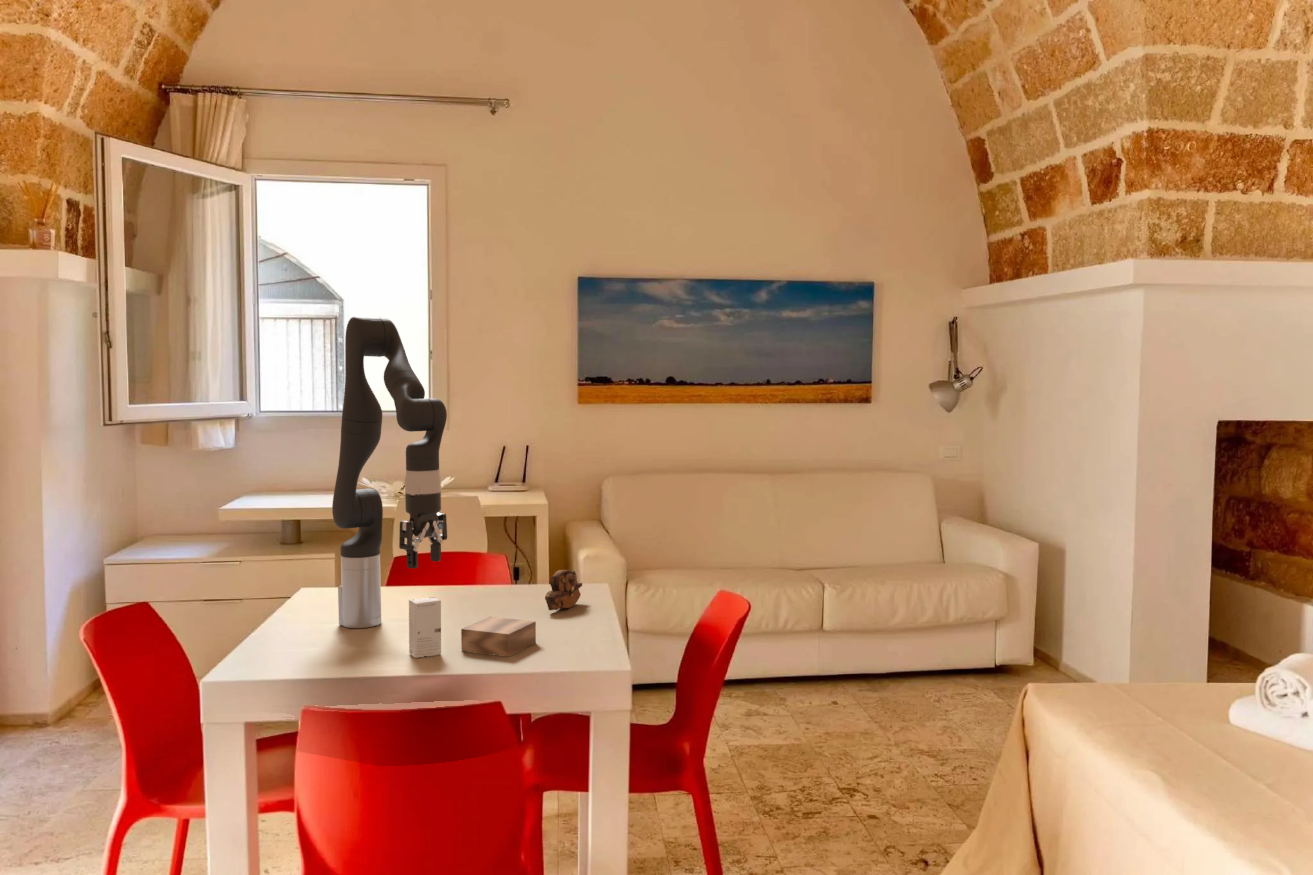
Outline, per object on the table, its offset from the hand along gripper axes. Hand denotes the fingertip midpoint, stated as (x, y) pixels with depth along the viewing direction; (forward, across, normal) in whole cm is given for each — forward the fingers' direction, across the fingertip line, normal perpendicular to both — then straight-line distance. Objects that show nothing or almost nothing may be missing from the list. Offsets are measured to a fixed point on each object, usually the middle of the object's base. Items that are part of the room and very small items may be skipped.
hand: (424, 564), depth 219 cm
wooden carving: (+20, -49, +9) cm, 54 cm away
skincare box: (+20, 0, 0) cm, 20 cm away
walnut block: (+20, -11, +12) cm, 26 cm away
